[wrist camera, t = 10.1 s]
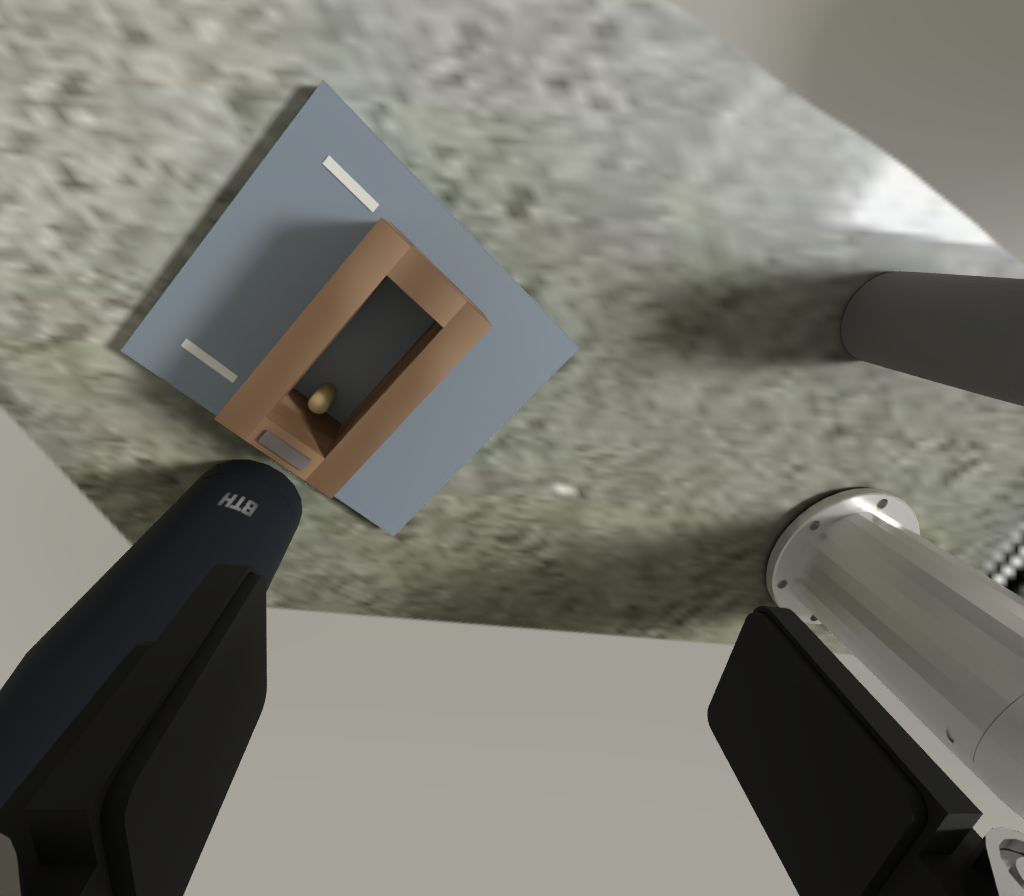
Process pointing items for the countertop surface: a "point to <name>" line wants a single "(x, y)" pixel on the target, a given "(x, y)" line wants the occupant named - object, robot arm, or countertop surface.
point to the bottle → (942, 330)
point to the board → (373, 330)
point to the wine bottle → (142, 602)
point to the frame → (270, 388)
